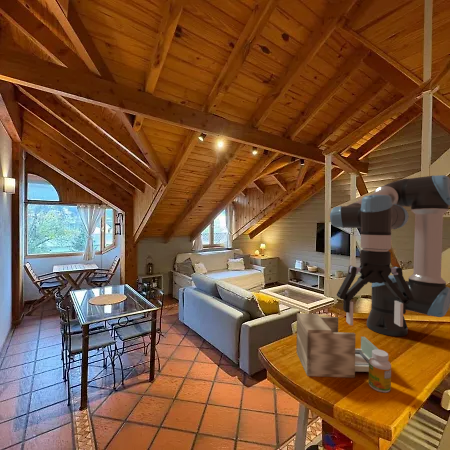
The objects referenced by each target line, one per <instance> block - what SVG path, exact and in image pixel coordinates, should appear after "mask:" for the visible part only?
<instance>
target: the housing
mask: <svg viewBox="0 0 450 450" xmlns="http://www.w3.org/2000/svg"><path fill="white" fill-rule="evenodd" d="M355 349H356V333H355V332H343V331H342V332H339V317H338V316H320V315H319V314H318V313H307V312H306V313H304V312H297V313H296V354H297V357H298V359H299V361H300V363H301V366H302V367H303V370H304V371H305V374H306V376H307V377H325V378H326V377H327V378H329V377H331V378H350V379H351V378H352V379H353V378H356V371H355Z"/></svg>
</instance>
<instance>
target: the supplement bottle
mask: <svg viewBox="0 0 450 450" xmlns="http://www.w3.org/2000/svg"><path fill="white" fill-rule="evenodd" d="M378 349H379V348H378ZM378 349H374V350H372V357H371V358H370V359H369V372H368V385H369V387H370V388H371V389H373V390H375V391H377V392H379V393H389V392H391V390H392V384H391V383H392V364H391V362H390V361H389V353H388V352H387V351H385V350H383V349H379V350H378Z"/></svg>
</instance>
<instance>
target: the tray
mask: <svg viewBox="0 0 450 450" xmlns="http://www.w3.org/2000/svg"><path fill="white" fill-rule="evenodd" d="M374 349H378V350H380V349H379V348H378V347H377V346H376V345H374V344H373V343H372V342H371V341H370V340H369V339H368V338H367V337H366V336H360V348H355V372H362V373H364V372H366V373H369V359H370V358H371V357H372V350H374Z"/></svg>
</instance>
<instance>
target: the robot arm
mask: <svg viewBox="0 0 450 450" xmlns="http://www.w3.org/2000/svg"><path fill="white" fill-rule="evenodd" d="M406 207H410V212H412V213H413V214H414V215H415V216H414V217H415V219H414V220H415V221H414V246H413V247H414V249H413V270H412V271H413V273H412V275H410V276H408V280H406V279H405V278H404V275H403V269H402V268H401V267H397V266H395V265H393V267H391V266H390V265H391V262H392V259H391V258H392V256H391V255H392V254H391V253H392V252H391V251H389V250H391V249H392V230H396V229H401V228H403V227H404V226H405V225H406V224H407V223H408V221H409V213H408V212H409V211H407V209H406ZM449 207H450V177H449V176H448V175H446V174H445V175H439V174H438V175H428V176H427V175H426V176H420V177H419V176H418V177H412V178H410V177H409V178H403V179H401V178H400V179H397V180H394V181H392V182H388V183H386V184H384V185H382V186H379V187H378V188H377V189H375V190H374V192H373V193H371V194H369V195H364V196H363V197H362V198H360V199H357V200H356V201H355V202H352V203H350V204H348V205H340V206H334V207H333V208H332V209H331V211H330V214H329V219H330V220H329V221H330V224H331V225H332V227H335V228H342V229H344V228H346V229H360V248H361V250H360V252H359V254H360V255H359V257H360V258H359V263H360V265H359V267H357V266H353V265H349V266H348V272H347V274H346V276H345V278H344V279H343V281H342V283H341V286H340V287H339V289H338V291H337V293H336V296H337V298H339V299H341V300H342V301H343V302H342V304H343V307H342V308H343V311H344V312H345V314H346V317H345V318H346V319H345V321H346V323H347V324H348V325H349V326H354V301H353V298H355V296H356V295H357V294H358V293H359V292H360V290H362V288H364V286H365V285H367V284H368V283H370V284H371V286H370V287H371V309H370V312H369V314H368V316H367V319H366V326H367V328H368V329H370V330H371V331H373V332H375V333H378V334H380V335H386V336H391V337H404V336H407V335H408V332H409V331H408V330H409V329H408V324H407V322H406V319H405V316H404V315H405V314H406V312H407V311H410V312H414V313H419V314H422V315H423V314H424V315H426V316H432V317H437V318H442V317H444V316H446V314H447V312H448V311H449V307H450V287H449V286H447V282H446V280H445V279H444V278H442V260H443V259H442V254H443V251H442V250H443V226H444V224H443V223H444V222H443V221H444V215H445V214H446V213H447V212H449ZM359 273H360V275H359V277H357V280H356V281H355V282H354V280H355V278H356V276H357V275H358V274H359ZM352 284H353V285H352Z"/></svg>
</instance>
